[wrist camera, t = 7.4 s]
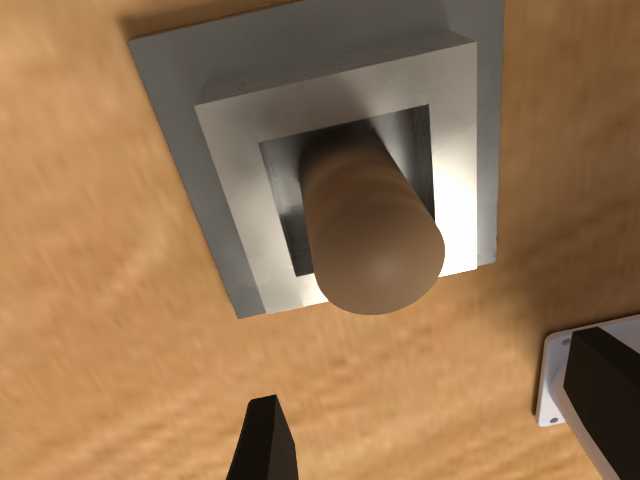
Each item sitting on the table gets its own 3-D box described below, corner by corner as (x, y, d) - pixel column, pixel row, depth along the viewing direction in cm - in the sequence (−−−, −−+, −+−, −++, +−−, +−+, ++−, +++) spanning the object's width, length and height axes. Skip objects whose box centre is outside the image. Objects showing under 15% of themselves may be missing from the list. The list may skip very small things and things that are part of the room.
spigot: (389, 120, 16) (446, 192, 11) (394, 207, 18) (445, 302, 13) (291, 137, 16) (304, 218, 11) (306, 222, 18) (323, 324, 13)
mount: (497, -46, 14) (543, -45, 12) (490, 254, 21) (519, 293, 19) (131, 38, 14) (106, 55, 12) (238, 310, 21) (235, 355, 19)
